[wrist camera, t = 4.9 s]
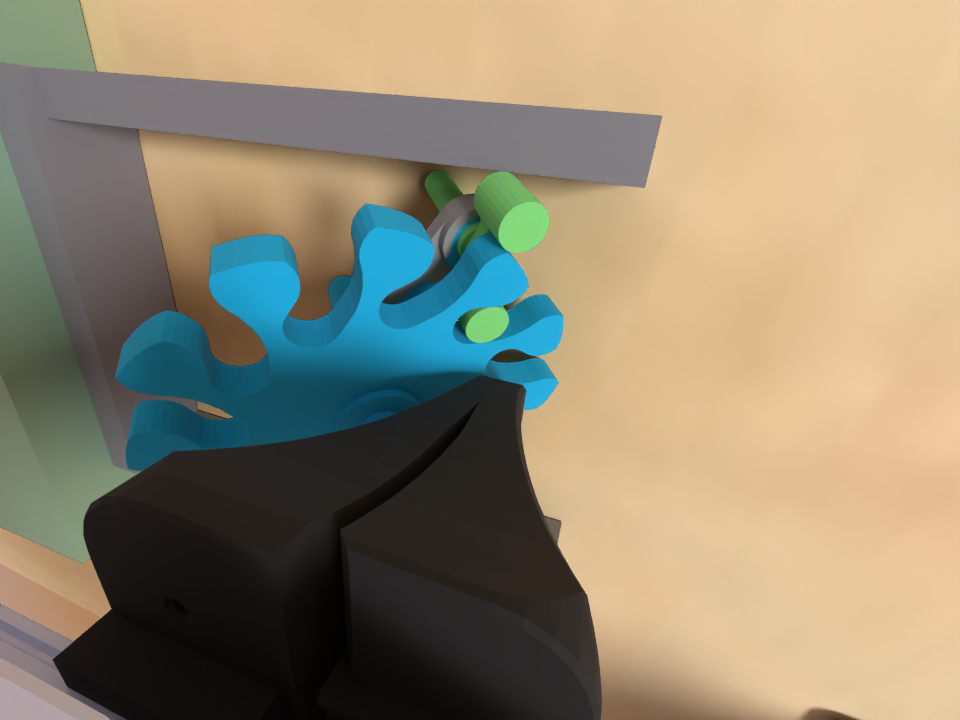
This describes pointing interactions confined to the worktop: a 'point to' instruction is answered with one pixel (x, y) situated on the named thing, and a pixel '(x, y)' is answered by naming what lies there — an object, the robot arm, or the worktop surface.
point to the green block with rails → (135, 236)
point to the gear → (352, 327)
